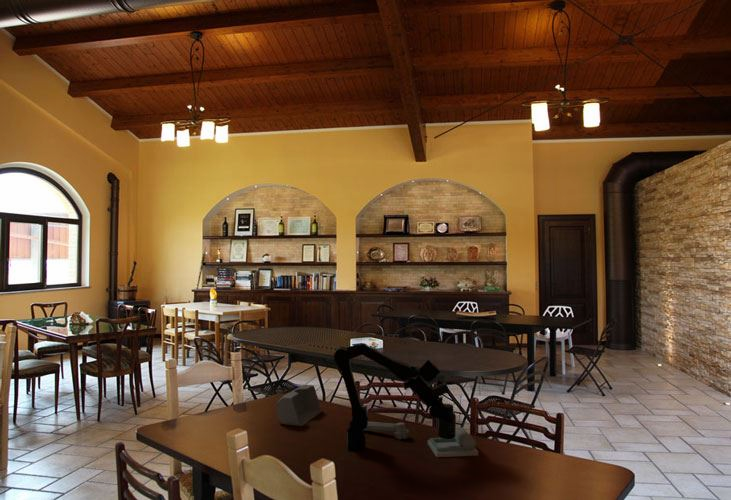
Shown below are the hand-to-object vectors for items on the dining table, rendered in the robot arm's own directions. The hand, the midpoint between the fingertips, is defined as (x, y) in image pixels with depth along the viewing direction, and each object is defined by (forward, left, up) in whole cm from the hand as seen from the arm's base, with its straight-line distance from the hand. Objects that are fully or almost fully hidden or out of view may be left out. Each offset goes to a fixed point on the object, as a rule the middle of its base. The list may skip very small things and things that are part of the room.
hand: (450, 419), depth 200 cm
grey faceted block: (-60, +49, -12) cm, 78 cm away
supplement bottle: (-1, 0, -7) cm, 7 cm away
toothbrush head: (-24, +21, -12) cm, 34 cm away
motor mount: (+1, 0, -12) cm, 12 cm away
